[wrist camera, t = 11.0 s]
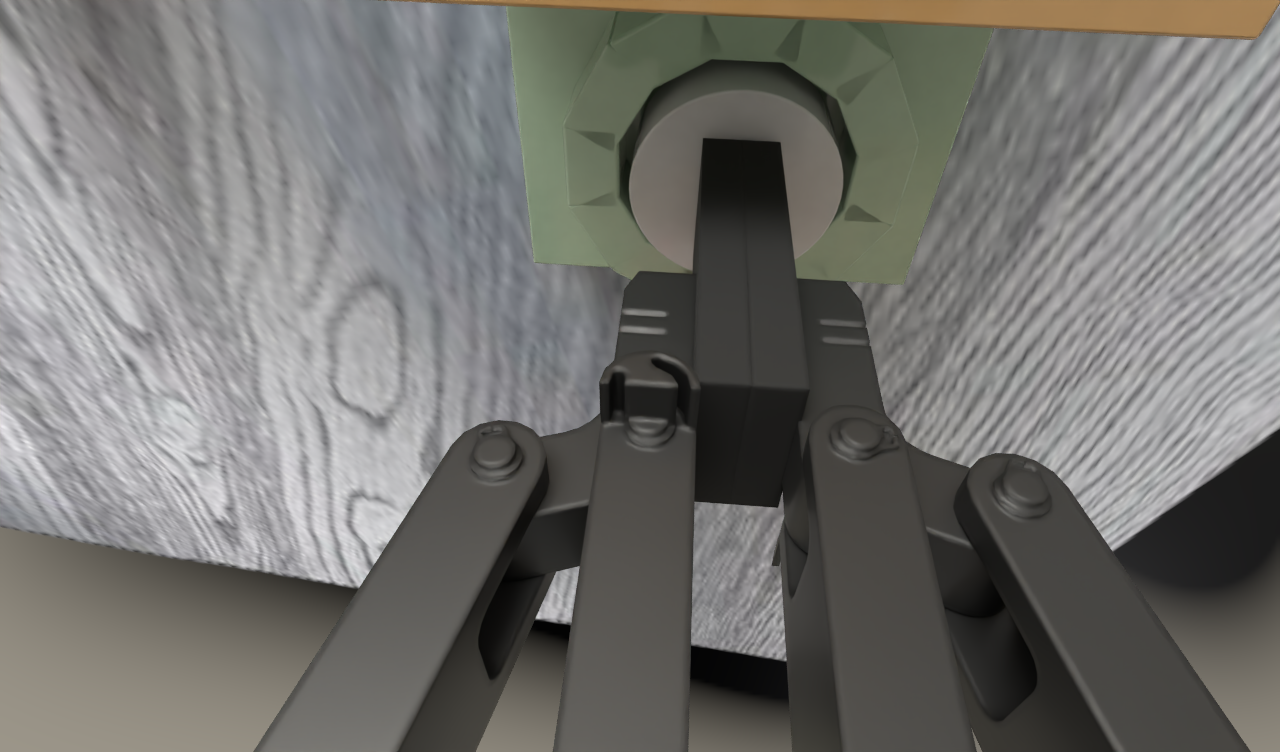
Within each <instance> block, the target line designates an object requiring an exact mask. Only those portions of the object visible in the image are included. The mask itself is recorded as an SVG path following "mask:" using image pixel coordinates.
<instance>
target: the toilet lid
mask: <svg viewBox="0 0 1280 752" xmlns="http://www.w3.org/2000/svg"><path fill="white" fill-rule="evenodd" d="M380 1H402V2H424V3H446V4H468V5H490V6H512V7H534V8H556V9H578V10H601V11H623V12H645V13H667V14H689V15H711V16H733V17H755V18H777V19H799V20H822V21H844V22H866V23H888V24H910V25H932V26H954V27H976V28H998V29H1020V30H1043V31H1065V32H1087V33H1109V34H1131V35H1153V36H1175V37H1197V38H1219V39H1241V40H1254V39H1257V38H1258V37H1259V36H1260V35H1261V33H1262V31H1263V30H1264V28H1265V27H1266V25H1267V23H1268V22H1269V20H1270V18H1271V17H1272V15H1273V14H1274V12H1275V10H1276V9H1277V7H1278V6H1279V4H1280V0H380Z"/></svg>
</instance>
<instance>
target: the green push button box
mask: <svg viewBox="0 0 1280 752" xmlns="http://www.w3.org/2000/svg"><path fill="white" fill-rule="evenodd" d="M506 13H507V22H508V31H509V40H510V49H511V58H512V68H513V77H514V86H515V95H516V104H517V113H518V122H519V131H520V140H521V149H522V158H523V168H524V177H525V186H526V195H527V204H528V213H529V222H530V231H531V240H532V249H533V258H534V262H535V263H544V264H560V265H577V266H594V267H610V268H612V270H613V271H615V272H617V273H619V274H620V275H622V276H624V277H626V278H628V279H630V280H632V279H633V278H634V277H635V275H636V274H637V273H638V272H639V271H652V272H669V273H685V274H692V271H691V270H688V269H686V268H684V267H682V266H680V265H678V264H676V263H674V262H673V261H671V260H669V259H668V258H666V257H665V256H664V255H663V254H661V253H660V252H659V251H658V250H657V249H656V248H655V247H654V246H653V245H652V244H651V243H650V242H649V241H648V239H647V238H646V237H645V235H644V234H643V233H642V231H641V229H640V227H639V226H638V224H637V222H636V219H635V217H634V214H633V211H632V207H631V203H630V197H629V179H630V171H631V165H632V158H633V152H634V146H635V140H636V135H637V130H638V126H639V123H640V120H641V117H642V115H643V112H644V110H645V109H646V107H647V105H648V103H649V101H650V100H651V99H652V97H653V96H654V95H655V93H656V92H657V91H658V89H659V88H660V87H661V86H662V85H663V84H664V83H666V82H668V81H670V80H672V79H674V78H676V77H678V76H680V75H682V74H684V73H686V72H688V71H690V70H692V69H694V68H696V67H698V66H700V65H702V64H704V63H706V62H708V61H710V60H712V59H715V60H736V61H757V62H778V63H784V64H785V65H787V66H788V67H790V68H791V69H793V70H794V71H796V72H797V73H798V74H800V75H801V76H803V77H804V78H806V79H807V80H809V81H810V82H811V83H812V84H813V85H814V86H815V87H816V88H817V90H818V91H819V93H820V94H821V95H822V97H823V98H824V100H825V102H826V105H827V107H828V109H829V111H830V115H831V118H832V121H833V125H834V130H835V134H836V138H837V143H838V147H839V151H840V156H841V160H842V167H843V191H842V197H841V201H840V204H839V207H838V210H837V212H836V214H835V216H834V218H833V220H832V222H831V224H830V225H829V227H828V228H827V230H826V231H825V233H824V234H823V235H822V237H821V238H820V239H819V240H818V241H817V242H816V243H815V244H814V245H813V246H812V247H811V248H810V249H809V250H808V251H806V252H805V253H804V254H802V255H801V256H800V257H798V258H797V259H795V267H796V276H797V278H800V279H817V280H834V281H845V282H861V283H877V284H894V285H903V284H904V282H905V279H906V276H907V274H908V271H909V268H910V265H911V262H912V259H913V257H914V254H915V251H916V248H917V245H918V242H919V240H920V237H921V234H922V231H923V228H924V225H925V223H926V220H927V217H928V214H929V211H930V208H931V206H932V203H933V200H934V197H935V194H936V191H937V189H938V186H939V183H940V180H941V177H942V174H943V172H944V169H945V166H946V163H947V160H948V157H949V155H950V152H951V149H952V146H953V143H954V140H955V138H956V135H957V132H958V129H959V126H960V123H961V121H962V118H963V115H964V112H965V109H966V106H967V104H968V101H969V98H970V95H971V92H972V89H973V87H974V84H975V81H976V78H977V75H978V72H979V70H980V67H981V64H982V61H983V58H984V55H985V53H986V50H987V47H988V44H989V41H990V38H991V36H992V33H993V30H994V28H976V27H954V26H932V25H910V24H888V23H866V22H844V21H822V20H799V19H777V18H755V17H733V16H711V15H689V14H667V13H645V12H623V11H601V10H578V9H556V8H534V7H512V6H506Z"/></svg>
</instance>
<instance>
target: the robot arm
mask: <svg viewBox="0 0 1280 752" xmlns="http://www.w3.org/2000/svg"><path fill="white" fill-rule="evenodd" d="M869 343H870V340H869V335H868V331H867V328H866V321H865V316H864V312H863V307H862V302H861V300H860V299H859V298H858V297H857V295H856V294H855V293H854V292H853V291H852V289H851V288H850V287H849V286H848V284H847V283H846V282H845V281H834V280H817V279H800V278H797V276H796V267H795V259H794V251H793V242H792V234H791V225H790V217H789V209H788V200H787V192H786V183H785V175H784V166H783V158H782V150H781V142H772V141H753V140H734V139H715V138H703V143H702V155H701V167H700V179H699V191H698V203H697V214H696V226H695V238H694V250H693V271H692V274H685V273H669V272H652V271H639V272H638V273H637V274H636V275H635V277H634V278H633V279H632V280H631V282H630V283H629V284H628V285H627V287H626V288H625V290H624V297H623V304H622V312H621V318H620V324H619V332H618V338H617V345H616V352H615V359H614V361H613V362H612V363H611V364H610V365H609V366H607V367H606V368H605V370H604V372H603V375H602V377H601V379H600V381H599V388H600V414H598V415H597V416H596V417H595V418H594V419H593V420H591V421H590V422H589V423H587V424H585V425H583V426H581V427H579V428H577V429H573V430H570V431H567V432H563V433H558V434H553V435H548V436H543V437H539V436H538V435H537V434H536V433H535V432H534V430H533V429H531V428H529V427H527V426H524V425H522V424H520V423H518V422H511V421H501V420H498V421H493V422H488V423H483V424H479V425H477V426H475V427H474V428H472V429H470V430H468V431H466V432H464V433H463V434H462V435H461V436H460V437H459V438H458V439H457V440H456V441H455V442H454V443H453V444H452V445H451V447H450V449H449V450H448V452H447V453H446V455H445V456H444V458H443V459H442V461H441V462H440V464H439V466H438V467H437V469H436V470H435V472H434V473H433V475H432V476H431V478H430V479H429V481H428V483H427V484H426V486H425V487H424V489H423V490H422V492H421V493H420V495H419V496H418V498H417V500H416V501H415V503H414V504H413V506H412V507H411V509H410V510H409V512H408V513H407V515H406V517H405V518H404V520H403V521H402V523H401V524H400V526H399V527H398V529H397V530H396V532H395V534H394V535H393V537H392V538H391V540H390V541H389V543H388V544H387V546H386V547H385V549H384V551H383V552H382V554H381V555H380V557H379V558H378V560H377V561H376V563H375V564H374V566H373V568H372V569H371V571H370V572H369V574H368V575H367V577H366V578H365V580H364V581H363V583H362V585H361V586H360V588H359V589H358V591H357V592H356V594H355V595H354V597H353V598H352V600H351V602H350V603H349V605H348V606H347V608H346V609H345V611H344V612H343V614H342V616H341V617H340V619H339V620H338V622H337V623H336V625H335V627H334V628H333V629H332V631H331V633H330V634H329V636H328V637H327V639H326V640H325V642H324V643H323V645H322V646H321V648H320V650H319V651H318V653H317V654H316V656H315V657H314V659H313V660H312V662H311V663H310V665H309V667H308V668H307V670H306V671H305V673H304V674H303V676H302V677H301V679H300V681H299V682H298V684H297V685H296V687H295V688H294V690H293V691H292V693H291V695H290V696H289V697H288V699H287V701H286V702H285V704H284V705H283V707H282V708H281V710H280V712H279V713H278V714H277V716H276V718H275V719H274V721H273V722H272V724H271V725H270V727H269V728H268V730H267V731H266V733H265V735H264V736H263V738H262V739H261V741H260V743H259V744H258V746H257V747H256V749H255V750H254V752H476V750H477V747H478V745H479V743H480V741H481V738H482V736H483V734H484V732H485V729H486V727H487V725H488V723H489V721H490V718H491V716H492V714H493V711H494V709H495V707H496V705H497V703H498V700H499V698H500V696H501V694H502V692H503V689H504V687H505V684H506V683H507V680H508V678H509V676H510V674H511V671H512V669H513V667H514V665H515V662H516V660H517V658H518V656H519V653H520V651H521V649H522V647H523V645H524V642H525V640H526V638H527V635H528V633H529V631H530V629H531V627H532V625H533V622H534V620H535V618H536V616H537V613H538V611H539V609H540V607H541V604H542V602H543V600H544V598H545V596H546V593H547V591H548V589H549V587H550V584H551V582H552V580H553V578H554V575H555V573H556V571H560V570H564V569H569V568H573V567H577V566H580V569H579V576H578V583H577V589H576V596H575V603H574V610H573V617H572V624H571V631H570V638H569V645H568V651H567V658H566V666H565V672H564V679H563V686H562V692H561V699H560V706H559V713H558V720H557V727H556V734H555V740H554V748H553V752H688V735H689V734H688V733H689V695H690V694H689V693H690V657H691V656H690V655H691V617H692V578H693V538H694V502H708V503H722V504H735V505H749V506H763V507H776V508H778V506H779V502H780V498H781V495H782V491H783V503H784V520H783V523H782V527H781V530H780V534H779V537H778V541H777V544H776V547H775V551H774V556H773V561H772V566H779V564H780V561H781V576H782V592H783V608H784V625H785V641H786V657H787V673H788V689H789V705H790V721H791V736H792V752H977V751H976V747H975V742H974V738H973V734H972V729H973V732H974V734H975V736H976V738H977V741H978V743H979V745H980V747H981V750H982V752H1251V751H1250V750H1249V749H1248V747H1247V746H1246V744H1245V743H1244V741H1243V740H1242V739H1241V737H1240V736H1239V734H1238V733H1237V731H1236V730H1235V729H1234V727H1233V725H1232V724H1231V722H1230V721H1229V720H1228V718H1227V717H1226V715H1225V714H1224V712H1223V711H1222V709H1221V708H1220V707H1219V705H1218V704H1217V702H1216V701H1215V700H1214V698H1213V696H1212V695H1211V694H1210V692H1209V691H1208V689H1207V688H1206V686H1205V685H1204V683H1203V682H1202V681H1201V679H1200V678H1199V676H1198V675H1197V673H1196V672H1195V670H1194V669H1193V668H1192V666H1191V665H1190V663H1189V662H1188V660H1187V659H1186V657H1185V656H1184V654H1183V653H1182V652H1181V650H1180V649H1179V647H1178V646H1177V644H1176V643H1175V642H1174V640H1173V639H1172V637H1171V636H1170V634H1169V633H1168V631H1167V630H1166V628H1165V627H1164V626H1163V624H1162V623H1161V621H1160V620H1159V618H1158V617H1157V615H1156V614H1155V613H1154V611H1153V610H1152V608H1151V607H1150V605H1149V604H1148V602H1147V601H1146V599H1145V598H1144V597H1143V595H1142V594H1141V592H1140V591H1139V589H1138V588H1137V586H1136V585H1135V584H1134V582H1133V581H1132V579H1131V578H1130V576H1129V575H1128V573H1127V572H1126V571H1125V569H1124V568H1123V566H1122V565H1121V563H1120V562H1119V560H1118V559H1117V557H1116V556H1115V555H1114V553H1113V552H1112V550H1111V549H1110V547H1109V546H1108V544H1107V543H1106V542H1105V540H1104V539H1103V537H1102V536H1101V534H1100V533H1099V531H1098V530H1097V529H1096V527H1095V526H1094V524H1093V523H1092V521H1091V520H1090V518H1089V517H1088V516H1087V514H1086V513H1085V511H1084V510H1083V508H1082V507H1081V505H1080V504H1079V502H1078V501H1077V500H1076V498H1075V497H1074V495H1073V494H1072V492H1071V491H1070V489H1069V488H1068V487H1067V486H1066V485H1065V484H1064V483H1063V481H1062V480H1061V479H1060V478H1059V477H1058V476H1057V475H1056V474H1055V473H1054V472H1053V471H1051V470H1049V469H1048V468H1046V467H1045V466H1043V465H1041V464H1040V463H1038V462H1037V461H1035V460H1032V459H1029V458H1026V457H1023V456H1019V455H1016V454H1002V453H995V454H991V455H988V456H985V457H982V458H980V459H979V460H978V461H977V462H976V463H975V464H974V465H973V466H972V467H971V468H969V467H966V466H963V465H960V464H957V463H954V462H950V461H947V460H944V459H941V458H938V457H935V456H933V455H930V454H928V453H926V452H923V451H921V450H919V449H917V448H916V447H914V446H913V445H911V444H909V443H908V442H906V441H905V438H904V436H903V434H902V432H901V430H900V429H899V428H898V427H897V426H896V425H895V424H894V423H893V422H892V421H891V420H890V419H889V418H888V417H887V416H886V414H885V411H884V407H883V402H882V397H881V392H880V388H879V383H878V378H877V373H876V369H875V364H874V359H873V354H872V350H871V346H869ZM971 728H972V729H971Z"/></svg>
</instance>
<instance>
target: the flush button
mask: <svg viewBox="0 0 1280 752" xmlns="http://www.w3.org/2000/svg"><path fill="white" fill-rule="evenodd" d="M703 138H715V139H734V140H753V141H772V142H781V150H782V158H783V166H784V175H785V183H786V192H787V200H788V209H789V217H790V225H791V234H792V242H793V251H794V259H797V258H798V257H800V256H801V255H802V254H804V253H805V252H806V251H808V250H809V249H810V248H811V247H812V246H813V245H814V244H815V243H816V242H817V241H818V240H819V239H820V238H821V237H822V235H823V234H824V233H825V231H826V230H827V228H828V227H829V225H830V224H831V222H832V220H833V218H834V216H835V214H836V212H837V210H838V207H839V204H840V201H841V197H842V191H843V167H842V160H841V156H840V151H839V147H838V143H837V138H836V134H835V130H834V125H833V121H832V118H831V115H830V111H829V109H828V107H827V105H826V102H825V100H824V98H823V97H822V95H821V94H820V93H819V91H818V90H817V88H816V87H815V86H814V85H813V84H812V83H811V82H810V81H809V80H807V79H806V78H804V77H803V76H801V75H800V74H798V73H797V72H796V71H794V70H793V69H791V68H790V67H788V66H787V65H785V64H784V63H778V62H757V61H736V60H715V59H712V60H710V61H708V62H706V63H704V64H702V65H700V66H698V67H696V68H694V69H692V70H690V71H688V72H686V73H684V74H682V75H680V76H678V77H676V78H674V79H672V80H670V81H668V82H666V83H664V84H663V85H662V86H661V87H660V88H659V89H658V91H657V92H656V93H655V95H654V96H653V97H652V99H651V100H650V101H649V103H648V105H647V107H646V109H645V110H644V112H643V115H642V117H641V120H640V123H639V126H638V130H637V135H636V140H635V146H634V152H633V158H632V165H631V171H630V179H629V197H630V203H631V207H632V211H633V214H634V217H635V219H636V222H637V224H638V226H639V227H640V229H641V231H642V233H643V234H644V235H645V237H646V238H647V239H648V241H649V242H650V243H651V244H652V245H653V246H654V247H655V248H656V249H657V250H658V251H659V252H660V253H661V254H663V255H664V256H665V257H666V258H668V259H669V260H671V261H673V262H674V263H676V264H678V265H680V266H682V267H684V268H686V269H688V270H691V271H693V250H694V238H695V226H696V214H697V203H698V191H699V179H700V167H701V155H702V143H703Z"/></svg>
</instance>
